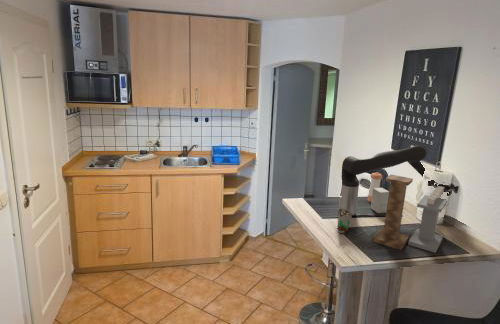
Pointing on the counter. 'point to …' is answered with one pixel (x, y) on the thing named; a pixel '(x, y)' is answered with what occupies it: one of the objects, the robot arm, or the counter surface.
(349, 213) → the food container
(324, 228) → the counter surface
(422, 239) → the stand
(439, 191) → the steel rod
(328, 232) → the counter surface
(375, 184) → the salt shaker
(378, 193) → the small box
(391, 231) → the tall stand
